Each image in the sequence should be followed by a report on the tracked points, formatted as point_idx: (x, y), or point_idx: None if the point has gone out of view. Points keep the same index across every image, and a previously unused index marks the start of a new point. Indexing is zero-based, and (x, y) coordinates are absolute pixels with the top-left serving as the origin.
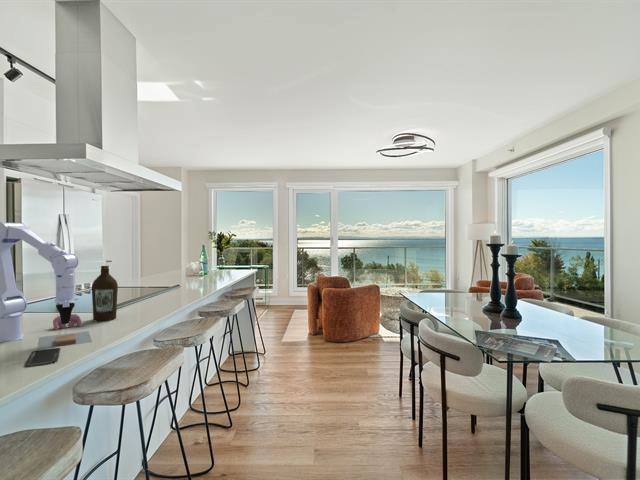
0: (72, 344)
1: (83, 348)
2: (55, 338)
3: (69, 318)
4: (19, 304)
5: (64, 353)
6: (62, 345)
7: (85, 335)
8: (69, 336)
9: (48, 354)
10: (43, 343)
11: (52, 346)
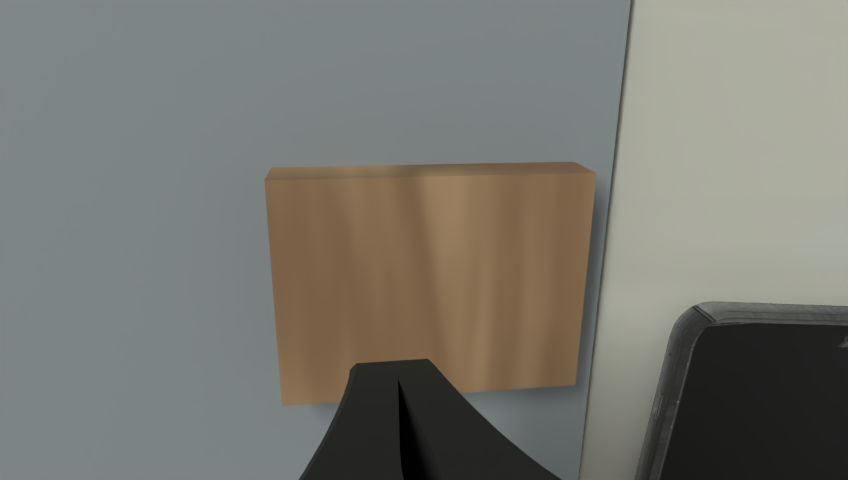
0: (600, 198)
1: (802, 87)
2: None
3: (469, 411)
4: None
5: (843, 266)
6: None
7: (170, 15)
8: (376, 248)
9: (843, 393)
10: None
11: None
